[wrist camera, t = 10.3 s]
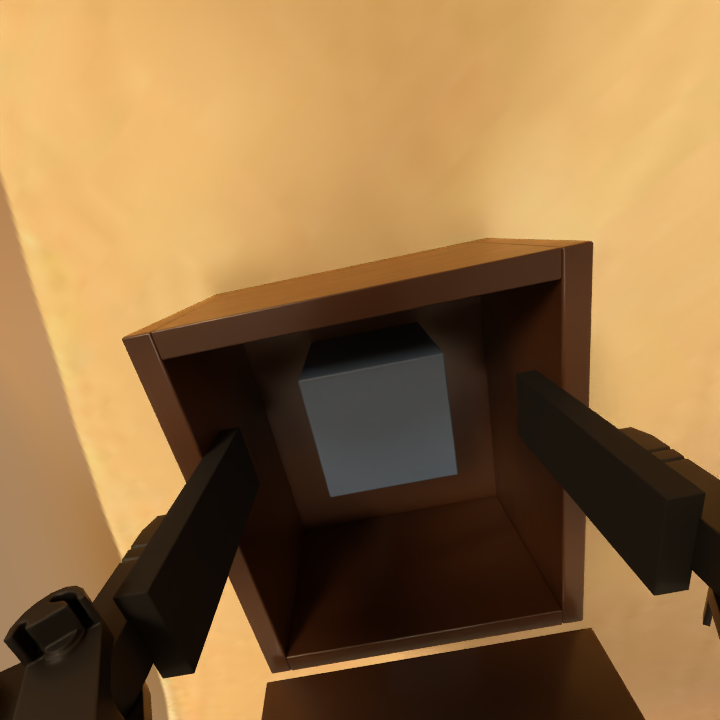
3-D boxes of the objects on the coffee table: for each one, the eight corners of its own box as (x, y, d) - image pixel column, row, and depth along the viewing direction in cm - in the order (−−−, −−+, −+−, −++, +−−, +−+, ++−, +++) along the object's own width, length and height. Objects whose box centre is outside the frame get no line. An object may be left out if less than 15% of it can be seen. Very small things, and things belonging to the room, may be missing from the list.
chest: (215, 294, 18) (120, 338, 10) (487, 237, 17) (594, 240, 10) (296, 532, 23) (271, 674, 16) (505, 493, 23) (583, 621, 15)
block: (310, 342, 18) (297, 381, 13) (418, 321, 18) (444, 352, 13) (334, 434, 20) (330, 498, 15) (431, 416, 19) (458, 474, 15)
